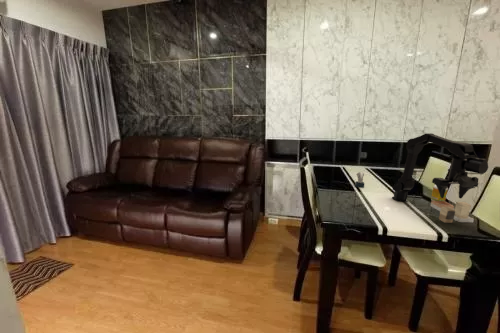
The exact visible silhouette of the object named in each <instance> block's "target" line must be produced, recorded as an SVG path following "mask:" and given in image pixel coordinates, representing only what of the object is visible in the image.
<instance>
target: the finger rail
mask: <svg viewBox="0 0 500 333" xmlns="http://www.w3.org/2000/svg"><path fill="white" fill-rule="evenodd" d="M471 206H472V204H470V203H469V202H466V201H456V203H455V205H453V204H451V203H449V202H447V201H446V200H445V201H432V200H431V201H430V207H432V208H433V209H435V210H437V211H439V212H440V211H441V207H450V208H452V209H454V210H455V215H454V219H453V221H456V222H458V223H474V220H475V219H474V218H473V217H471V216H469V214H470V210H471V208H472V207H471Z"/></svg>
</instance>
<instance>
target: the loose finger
mask: <svg viewBox="0 0 500 333" xmlns="http://www.w3.org/2000/svg"><path fill="white" fill-rule="evenodd" d="M454 209H455V208H454ZM454 209H452V208H450V207H441V211H439V216H438V220H439V221H441V222H443V223H449V224H450V223H451V224H452V223H453V221H454V215H455V210H454Z"/></svg>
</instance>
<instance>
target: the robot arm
mask: <svg viewBox="0 0 500 333" xmlns="http://www.w3.org/2000/svg"><path fill="white" fill-rule="evenodd" d="M429 143H431V144H434V145H437V146H440V147H441V148H443V149H444V148H445V149H446V150H448V151H449V153H452V154H451V155H449V156H448V159H451V163H450V164H451V165H450V167H449V168H448V169H447V171H448V172H449V173H448V176H446V177H445V178H442V177H433V178H432V180H431V183H433V184H434V185H436V186H437V188H438V191H439V193H440V196H441V198H443V197H444V194H445V190H446V189H447V188H448V189H449V185H459V187H458V198H459V199H463V197H464V196H465V195H466V194H467V192H468V191H469V190H471V189H475V188H478V186H479V177H477V176H472V177H471V176H468V175H469V174H468V172H471V173H475V174H480V175H484V174H485V173H486V172H487V171H488V169H489V163H488V162H487V159H486V158H479V156H478V155H477V154H476V152H475V149H474V146H473V145H472V143H468V142H463V141H461V142H460V141H455V140H454V141H453V140H450V139H448V138H445V137H443V136H439V135H436V134H435V133H432V132H431V133H430V132H429V133H428V132H427V133H424V134H422V135H419V136H416V137H414V138H409V139H408V140H407V141H406V151H407V156H406V161H405V164H404V169H403V173H402V175H401V177H400V178H398V181H397V183H396V184H395V185H393V186H392V190H393V191H394V192H393V193H394V194H393V196H391V198H392V199H393V200H394V201H396V202H405V203H406V202H408V200H407V199H408V195H409V193H408V192H411V190H412V189H413V188H414V187H415V183H416V180H415V179H414V178H413V175H414V171H415V168H416V164H417V159H418V155H419V154H420V152H421V153H422V151H423V148H424V146H426V145H428V144H429Z"/></svg>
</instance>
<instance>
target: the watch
mask: <svg viewBox="0 0 500 333" xmlns="http://www.w3.org/2000/svg"><path fill="white" fill-rule="evenodd" d="M364 176H365V173H364V171H358V172H356V177H357V181H355V183H354V186H355V188H362V189H363V188H365V181H364Z"/></svg>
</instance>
